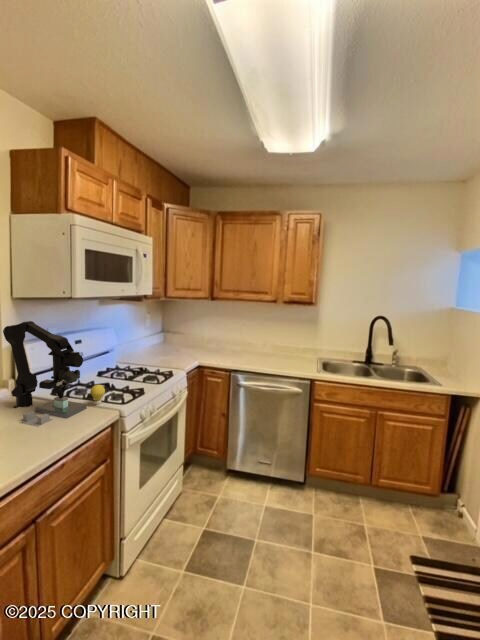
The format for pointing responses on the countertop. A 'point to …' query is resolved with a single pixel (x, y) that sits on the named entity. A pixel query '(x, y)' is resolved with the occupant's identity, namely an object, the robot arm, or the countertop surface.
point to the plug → (61, 402)
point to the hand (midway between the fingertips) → (61, 397)
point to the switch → (59, 412)
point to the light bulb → (97, 393)
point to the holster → (35, 419)
